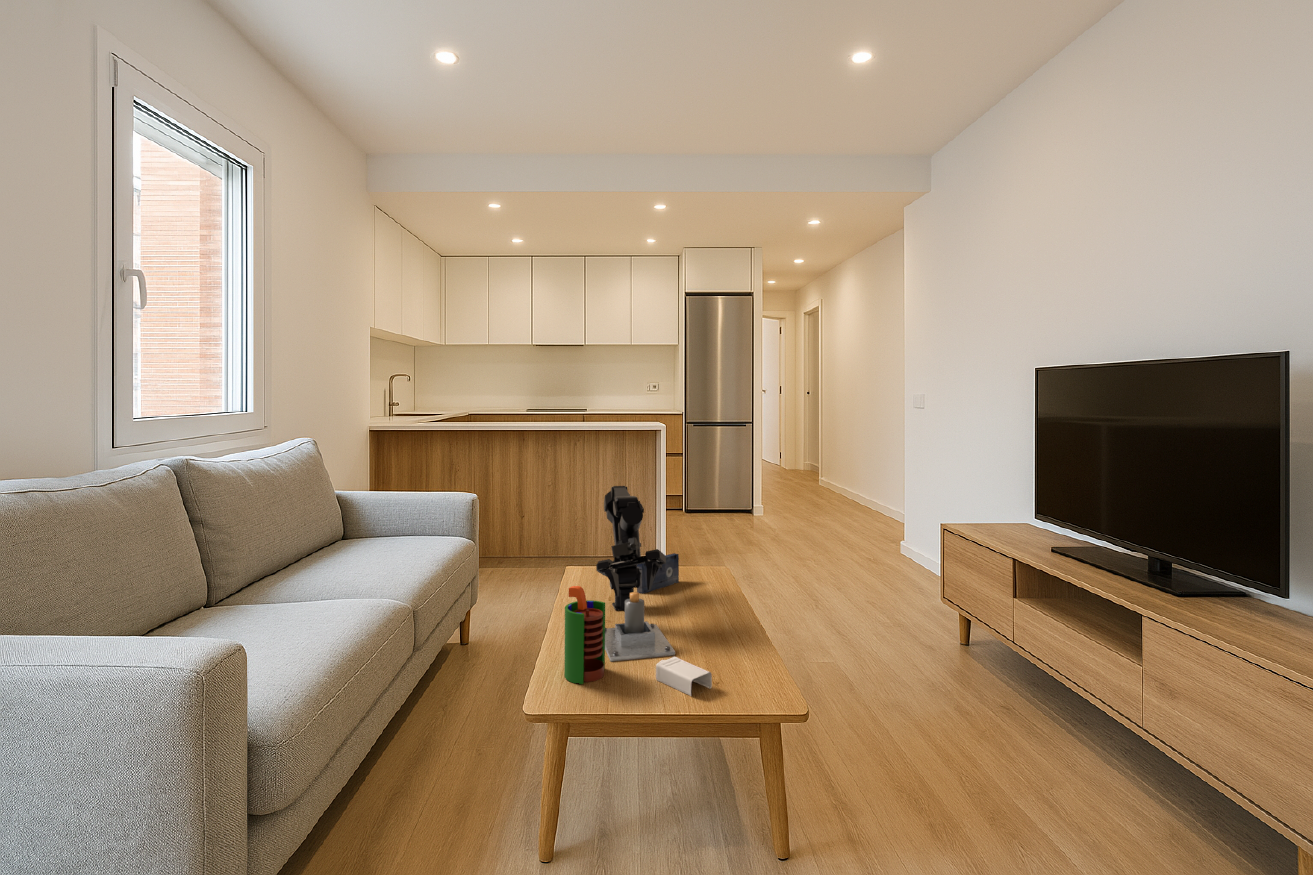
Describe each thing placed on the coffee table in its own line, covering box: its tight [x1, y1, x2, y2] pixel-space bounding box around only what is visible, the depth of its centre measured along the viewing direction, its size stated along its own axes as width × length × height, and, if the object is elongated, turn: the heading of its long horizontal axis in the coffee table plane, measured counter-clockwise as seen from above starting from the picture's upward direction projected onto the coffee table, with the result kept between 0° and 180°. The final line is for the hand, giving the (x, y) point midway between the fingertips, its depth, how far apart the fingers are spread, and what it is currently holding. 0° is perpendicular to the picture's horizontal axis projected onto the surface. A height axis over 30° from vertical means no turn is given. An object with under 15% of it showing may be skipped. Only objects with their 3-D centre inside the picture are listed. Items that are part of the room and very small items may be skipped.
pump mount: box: [605, 621, 676, 662], centre depth 169 cm, size 20×16×4 cm
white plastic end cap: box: [655, 656, 713, 697], centre depth 145 cm, size 6×13×4 cm, turn 42°
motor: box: [563, 585, 606, 685], centre depth 149 cm, size 10×9×20 cm
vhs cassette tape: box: [636, 552, 680, 595], centre depth 219 cm, size 18×3×10 cm, turn 136°
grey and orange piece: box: [624, 591, 645, 634], centre depth 168 cm, size 5×5×12 cm
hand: (633, 593), depth 178 cm, fingers open, 9 cm apart
